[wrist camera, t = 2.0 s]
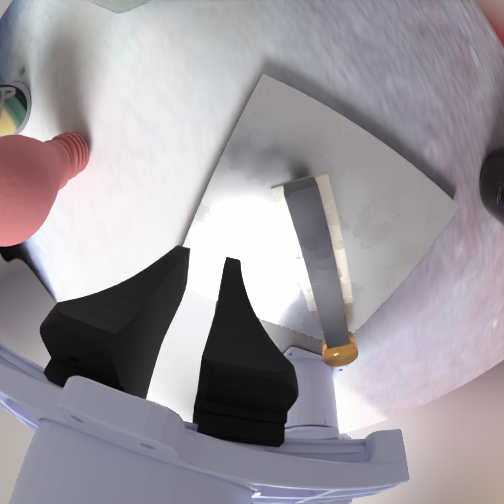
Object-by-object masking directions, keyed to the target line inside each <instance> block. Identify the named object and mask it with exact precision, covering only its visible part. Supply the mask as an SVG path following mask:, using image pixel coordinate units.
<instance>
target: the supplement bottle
mask: <svg viewBox="0 0 504 504" xmlns="http://www.w3.org/2000/svg"><path fill="white" fill-rule="evenodd" d="M480 195H481V199H482V202H483V205H484V207H485V208H486V210H487V211H488V212H489V213H490V214H491V215H492V216H493V217H494V218H495V219H496V220H497V221H499V222H500V223H501V224H502V225H503V226H504V148H501V149H498V150H496V151H495V152H494V153H493V154H492V155H491V156H490V157H489V158H488V160H487V162H486V163H485V166H484V168H483V171H482V174H481V180H480Z"/></svg>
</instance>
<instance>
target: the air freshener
mask: <svg viewBox="0 0 504 504" xmlns="http://www.w3.org/2000/svg"><path fill="white" fill-rule="evenodd" d="M88 1H90V2H92V3H94V4H97V5H99V6H101V7H103V8H106V9H108V10H110V11H113V12H115V13H123V12H126V11H129V10H132V9H134V8H137V7H139V6H141V5H144V4H145V3H147V2H149V1H151V0H88Z"/></svg>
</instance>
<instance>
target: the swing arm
mask: <svg viewBox="0 0 504 504" xmlns="http://www.w3.org/2000/svg"><path fill="white" fill-rule="evenodd" d="M283 188H284V196H285V200H286V203H287V206H288V209H289V212H290V216H291V219H292V222H293V225H294V229H295V232H296V235H297V239H298V242H299V245H300V249H301V252H302V256H303V259H304V263H305V266H306V270H307V273H308V277H309V280H310V284H311V288H312V291H313V295H314V299H315V303H316V306H317V310H318V314H319V318H320V322H321V326H322V330H323V334H324V338H323V339H322V342H321V346H322V355H323V361H324V363H325V364H327V365H329V366H332V367H340V366H345V365H348V364H350V363H351V362H353V361H354V360H355V359H356V358H357V356H358V350H357V345H356V341H355V336H354V334H353V333H351V332H350V331H348V326H347V319H346V313H345V307H344V301H343V296H342V290H341V285H340V280H339V274H338V269H337V264H336V260H335V255H334V250H333V245H332V241H331V236H330V232H329V228H328V223H327V219H326V215H325V211H324V207H323V203H322V199H321V195H320V191H319V187H318V184H317V182H316V180H315V177H310V178H306V179H303V180H299V181H295V182H291V183H288V184H284V185H283Z"/></svg>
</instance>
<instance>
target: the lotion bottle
mask: <svg viewBox="0 0 504 504" xmlns="http://www.w3.org/2000/svg"><path fill="white" fill-rule="evenodd" d="M30 109H31V100H30V94H29V91H28V89H27V87H26V86H25V85H24V84H23V83H21V82H10V83H4V84H0V137H2V136H5V135H17V134H18V133H20V132H21V131H22V130H23V129H24V127H25V125H26V124H27V121H28V119H29V115H30Z"/></svg>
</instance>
